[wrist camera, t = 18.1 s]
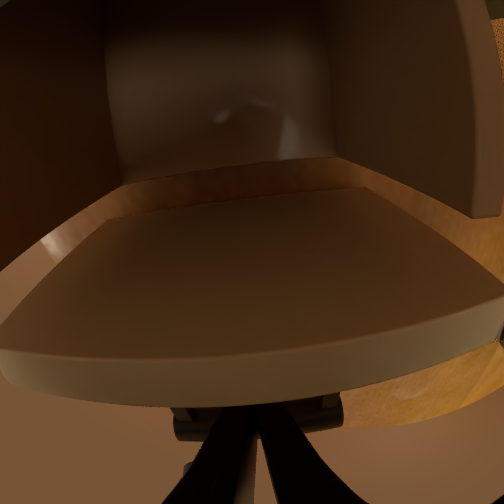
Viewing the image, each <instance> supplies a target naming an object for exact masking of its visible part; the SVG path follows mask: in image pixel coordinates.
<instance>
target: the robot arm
mask: <svg viewBox="0 0 504 504" xmlns="http://www.w3.org/2000/svg"><path fill="white" fill-rule="evenodd" d="M258 429H259V433H260V437H261V441H262V446H263V450H264V454H265V458H266V462H267V466H268V470H269V474H270V477H271V481H272V486H273V489H274V493H275V497H276V501H277V504H369V503H367V502H365V501H364V500H363V499H361V498H360V497H359V496H358V495H357V494H355V493H354V492H353V491H352V490H351V489H350V488H349V487H348V486H347V485H346V484H345V483H344V482H343V481H342V480H341V479H340V478H339V477H338V476H337V475H336V474H335V473H334V472H333V471H332V470H331V469H330V468H329V467H328V465H327V464H326V463H325V462H324V461H323V460H322V459H321V458H320V456H319V455H318V453H317V452H316V451H315V449H314V448H313V446H312V445H311V443H310V442H309V441H308V439H307V438H306V436H305V434H304V433H303V431H302V430H301V428H300V427H299V425H298V424H297V422H296V421H295V419H294V418H293V416H292V414H291V413H290V411H289V410H288V408H287V407H286V405H285V404H284V402H283V401H281V402H273V403H264V404H254V405H241V406H226V407H222V408H221V410H220V412H219V414H218V416H217V418H216V420H215V422H214V424H213V425H212V427H211V429H210V431H209V433H208V435H207V437H206V439H205V441H204V442H203V444H202V446H201V449H200V450H199V452H198V453H197V455H196V457H195V459H194V461H193V462H192V464H191V465H190V467H189V469H188V470H187V471H186V473H185V474H184V476H183V477H182V478H181V479H180V481H179V483H178V484H177V485H176V486H175V487H174V489H173V490H172V491H171V492H170V494H169V495H168V496H167V497H166V499H165V500H164V501H163V502H162V504H253V503H254V487H255V472H256V455H257V437H258ZM491 504H504V494H503V495H502V496H500V497H499V498H498V499H496V500H495V501H493V502H492V503H491Z"/></svg>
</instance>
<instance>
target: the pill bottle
mask: <svg viewBox="0 0 504 504" xmlns="http://www.w3.org/2000/svg"><path fill="white" fill-rule="evenodd" d="M496 337H497V340H498V342H499V343H500V344H501V346H502V347H503V348H504V321H503V323H502V325H501V328H500V330H499V332H498V334H497V336H496Z"/></svg>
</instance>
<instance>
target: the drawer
mask: <svg viewBox="0 0 504 504" xmlns="http://www.w3.org/2000/svg"><path fill="white" fill-rule="evenodd" d="M333 157H340V158H342V159H345V160H348V161H350V162H353V163H355V164H358V165H360V166H363V167H366V168H368V169H370V170H373V171H375V172H378V173H380V174H382V175H385V176H387V177H389V178H392V179H394V180H396V181H398V182H401V183H403V184H405V185H407V186H409V187H412V188H414V189H416V190H418V191H420V192H422V193H424V194H426V195H428V196H430V197H432V198H434V199H436V200H438V201H440V202H442V203H444V204H446V205H448V206H450V207H452V208H453V209H455V210H457V211H459V212H461V213H463V214H464V215H466V216H468V217H470V218H471V219H478V218H488V217H498V216H500V214H501V210H502V202H503V194H504V87H503V79H502V72H501V66H500V60H499V54H498V49H497V45H496V40H495V36H494V32H493V28H492V24H491V21H490V17H489V14H488V10H487V7H486V4H485V1H484V0H10V1H9V2H7V3H6V4H5V5H3V6H2V7H1V8H0V271H2V270H3V269H4V268H5V267H6V266H8V265H9V264H10V263H11V262H12V261H13V260H15V259H16V258H17V257H18V256H20V255H21V254H22V253H23V252H25V251H26V250H27V249H29V248H30V247H31V246H32V245H34V244H35V243H36V242H38V241H39V240H40V239H42V238H43V237H44V236H46V235H47V234H48V233H50V232H51V231H53V230H54V229H55V228H57V227H58V226H60V225H61V224H62V223H64V222H65V221H67V220H68V219H70V218H71V217H73V216H74V215H76V214H77V213H79V212H80V211H82V210H83V209H85V208H86V207H88V206H89V205H91V204H92V203H94V202H96V201H97V200H99V199H100V198H102V197H104V196H105V195H107V194H109V193H110V192H112V191H114V190H115V189H117V188H119V187H120V186H122V185H127V184H132V183H136V182H141V181H146V180H151V179H156V178H162V177H167V176H173V175H178V174H184V173H190V172H197V171H203V170H210V169H217V168H224V167H232V166H240V165H248V164H257V163H266V162H277V161H288V160H300V159H315V158H333ZM503 321H504V284H503V283H502V282H501V281H500V280H499V279H497V278H496V277H495V276H494V275H493V274H491V273H490V272H489V271H488V270H487V269H485V268H484V267H483V266H482V265H480V264H479V263H478V262H477V261H475V260H474V259H473V258H471V257H470V256H469V255H468V254H466V253H465V252H464V251H462V250H461V249H460V248H458V247H457V246H456V245H454V244H453V243H451V242H450V241H449V240H447V239H446V238H444V237H443V236H442V235H440V234H439V233H437V232H436V231H434V230H433V229H432V228H430V227H429V226H427V225H426V224H424V223H423V222H421V221H420V220H418V219H417V218H415V217H414V216H412V215H410V214H409V213H407V212H406V211H404V210H403V209H401V208H399V207H398V206H396V205H395V204H393V203H391V202H390V201H388V200H386V199H385V198H383V197H381V196H380V195H378V194H376V193H375V192H373V191H371V190H369V189H368V188H366V187H365V188H349V189H335V190H323V191H311V192H300V193H289V194H279V195H270V196H261V197H252V198H244V199H235V200H227V201H220V202H212V203H205V204H198V205H191V206H184V207H178V208H171V209H165V210H159V211H153V212H147V213H141V214H135V215H130V216H124V217H119V218H114V219H108V220H107V221H106V222H105V223H103V224H102V225H101V226H100V227H99V228H97V229H96V230H95V231H94V232H93V233H92V234H90V235H89V236H88V237H87V238H86V239H85V240H84V241H83V242H81V243H80V244H79V245H78V246H77V247H76V248H75V249H74V250H73V251H71V252H70V253H69V254H68V255H67V256H66V257H65V258H64V259H63V260H62V261H61V262H60V263H59V264H58V265H57V266H56V267H55V268H54V269H53V270H51V271H50V272H49V273H48V274H47V275H46V277H45V278H43V279H42V280H41V282H39V283H38V284H37V286H36V287H35V288H34V289H33V290H32V291H31V292H30V293H29V294H28V295H27V296H26V297H25V298H24V299H23V300H22V302H21V303H20V304H19V305H18V306H17V307H16V308H15V310H13V312H12V313H11V314H10V315H9V316H8V317H7V318H6V320H5V321H4V322H3V323H2V324H1V325H0V371H1V373H2V374H3V375H4V377H5V378H6V379H7V381H8V382H9V383H10V384H11V385H14V386H17V387H21V388H25V389H29V390H34V391H37V392H42V393H47V394H51V395H56V396H61V397H67V398H73V399H79V400H86V401H93V402H101V403H109V404H119V405H132V406H146V407H147V406H148V407H170V409H171V410H172V412H173V414H174V416H173V427H174V432H175V436H176V437H177V439H178V440H179V441H200V442H202V441H203V442H204V441H205V439H206V437H207V435H208V433H209V431H210V429H211V427H212V425H213V424H214V422H215V420H216V418H217V416H218V414H219V412H220V410H221V408H222V407H226V406H241V405H254V404H264V403H273V402H281V401H283V402H284V404H285V405H286V407H287V408H288V410H289V411H290V413H291V414H292V416H293V418H294V419H295V421H296V422H297V424H298V425H299V427H300V428H301V430H302V431H303V433H304V434H305V433H311V432H316V431H322V430H327V429H332V428H337V427H341V426H342V425H343V420H344V413H343V406H342V401H341V398H340V396H339V395H340V392H341V391H346V390H350V389H355V388H359V387H363V386H367V385H371V384H375V383H379V382H383V381H386V380H390V379H394V378H397V377H400V376H404V375H407V374H410V373H413V372H416V371H419V370H422V369H425V368H428V367H431V366H434V365H437V364H440V363H442V362H445V361H448V360H450V359H453V358H455V357H458V356H460V355H463V354H465V353H467V352H470V351H472V350H474V349H477V348H479V347H481V346H483V345H486V344H488V343H490V342H492V341H494V340H495V339H496V336H497V334H498V332H499V330H500V328H501V325H502V323H503ZM257 439H261V437H260V433H259V429H258V437H257Z"/></svg>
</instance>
